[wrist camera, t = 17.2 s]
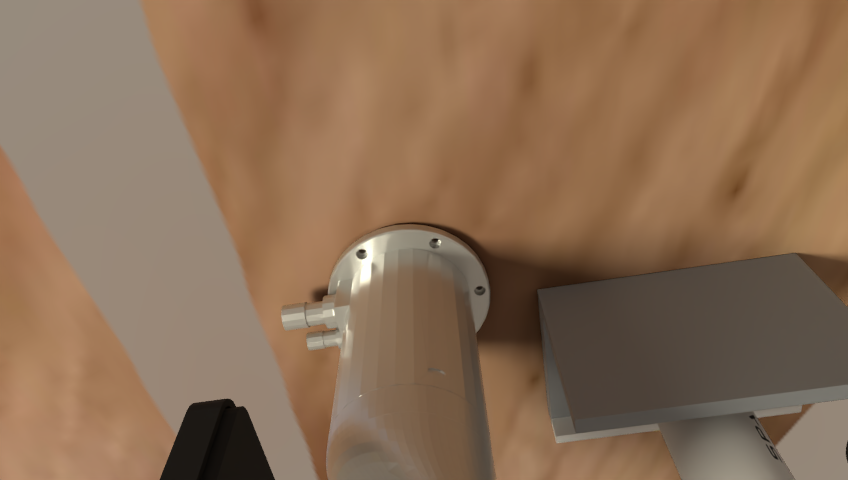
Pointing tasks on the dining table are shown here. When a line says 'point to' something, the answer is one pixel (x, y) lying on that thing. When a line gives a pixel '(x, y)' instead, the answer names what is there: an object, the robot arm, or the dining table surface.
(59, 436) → the dining table surface
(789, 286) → the grey bookend
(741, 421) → the travel mug
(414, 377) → the robot arm
